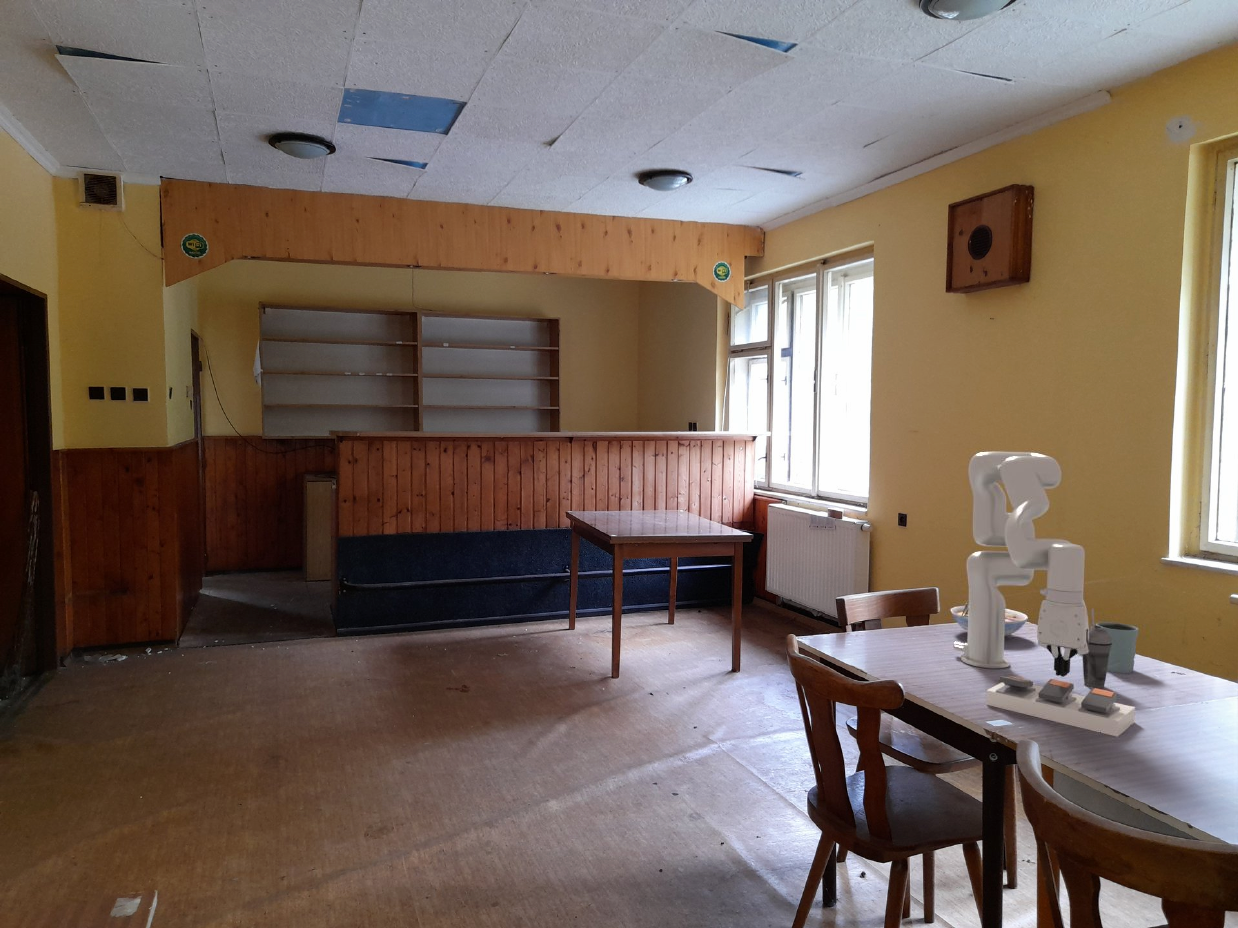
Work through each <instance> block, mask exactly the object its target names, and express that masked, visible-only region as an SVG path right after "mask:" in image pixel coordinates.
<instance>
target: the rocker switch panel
mask: <svg viewBox="0 0 1238 928" xmlns="http://www.w3.org/2000/svg"><path fill="white" fill-rule="evenodd" d="M1043 687H1044V686H1040V685H1035V684H1033V687H1027V690H1024V689H1020V688H1015V687H1011V686H1006V685H1004V683H1002V682H999V683H998V684H995V685H994V686H992V687H990V688H988V689H986V697H985V698H986V702H985V703H986V704H985V705H987V706H990V707H994V708H999V709H1003V710H1007V711H1010V712H1016V713H1018V714H1021V715H1022V714H1023V715H1028V716H1032V717H1036V718H1039V719H1044V720H1049V721H1052V722H1056V723H1059V724H1064V725H1068V726H1073V727H1077V728H1081V729H1085V730H1089V731H1093V732H1097V733H1100V732H1101V734H1104V735H1110V736H1112V737H1117V738H1118V737H1119V736H1121V734H1123V733H1124V732H1125V731H1126V730H1127V729H1128V728H1130V727H1131V726H1132V725H1134V723H1135V716H1136V707H1135V706H1131V705H1126V704H1123V703H1118V702H1114V703H1113V705H1112V709H1109V710H1108V712H1107V713H1103V712H1099V711H1094V710H1090V709H1085V708H1081V702H1082V701H1083V700H1084V698H1085V697H1086V696H1087V695H1086V696H1085V695H1081V694H1078V693H1077V694H1076V693H1072V692H1071V693H1070V694H1069V696H1068V699H1065V700H1064V701H1063V702H1062V703H1059V702H1055V701H1051V700H1046V699H1042V698H1039V696H1038V693H1039V692H1040V691H1041V689H1042V688H1043ZM1130 725H1131V726H1130Z"/></svg>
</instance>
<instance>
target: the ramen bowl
mask: <svg viewBox="0 0 1238 928" xmlns="http://www.w3.org/2000/svg"><path fill="white" fill-rule="evenodd" d="M950 612H951V614H952V617H953V618H954V620H955V622H957V623H956V624H957V625H959V627H961V628H962V629H964V630H966V631H967V632H968V613H969V600H966V601H965V604H964V605H961V606H954V607H951V608H950ZM1028 619H1029V617H1028V615H1027V614H1026V613H1023V612H1020V611H1016V610H1012V609H1009V608H1005V633H1004V637H1007V636H1010V635H1013V634H1015V633H1016V632H1018V631H1019V630H1020V629H1021V628H1023V626H1024V625H1025V624H1026V622H1027V621H1028Z"/></svg>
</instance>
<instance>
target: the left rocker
mask: <svg viewBox="0 0 1238 928" xmlns="http://www.w3.org/2000/svg"><path fill="white" fill-rule="evenodd" d="M998 682H999V683H1004V685H1006V686H1011V687H1015V688H1020V689H1024V690H1027V687H1033V685H1034V681H1033V680H1030V679H1026V678H1021V677H1017V676H999V677H998Z"/></svg>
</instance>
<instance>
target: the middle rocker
mask: <svg viewBox="0 0 1238 928" xmlns="http://www.w3.org/2000/svg"><path fill="white" fill-rule="evenodd" d="M1074 686H1075V685H1074V683H1071V682H1068V681H1063V680H1058V679H1053V678H1050V679H1049V680H1048V681H1047V682H1046V684H1044V686H1042V687H1043V688H1042V689H1041V691H1040V692H1039V693H1038V696H1039V698H1042V699H1046V700H1051V701H1055V702H1059V703H1062V702H1063V701H1064V700H1065V699H1068V696H1069V694H1070V693H1072V692H1073V690H1074V689H1075V687H1074Z"/></svg>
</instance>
